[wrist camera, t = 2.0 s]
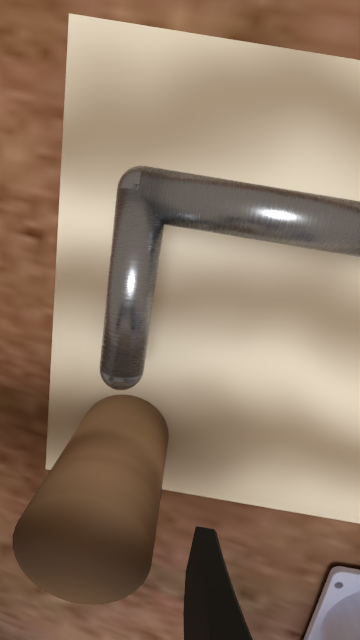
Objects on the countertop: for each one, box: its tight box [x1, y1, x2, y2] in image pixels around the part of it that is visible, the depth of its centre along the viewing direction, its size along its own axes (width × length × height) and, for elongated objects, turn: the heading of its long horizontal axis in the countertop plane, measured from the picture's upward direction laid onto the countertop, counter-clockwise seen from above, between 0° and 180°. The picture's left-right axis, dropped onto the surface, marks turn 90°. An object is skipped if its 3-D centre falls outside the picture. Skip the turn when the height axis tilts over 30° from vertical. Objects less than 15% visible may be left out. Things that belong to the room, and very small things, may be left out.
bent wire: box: [100, 166, 360, 390], centre depth 11 cm, size 8×11×4 cm
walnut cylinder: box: [13, 395, 169, 604], centre depth 12 cm, size 4×4×6 cm
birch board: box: [46, 14, 360, 524], centre depth 14 cm, size 20×26×1 cm
